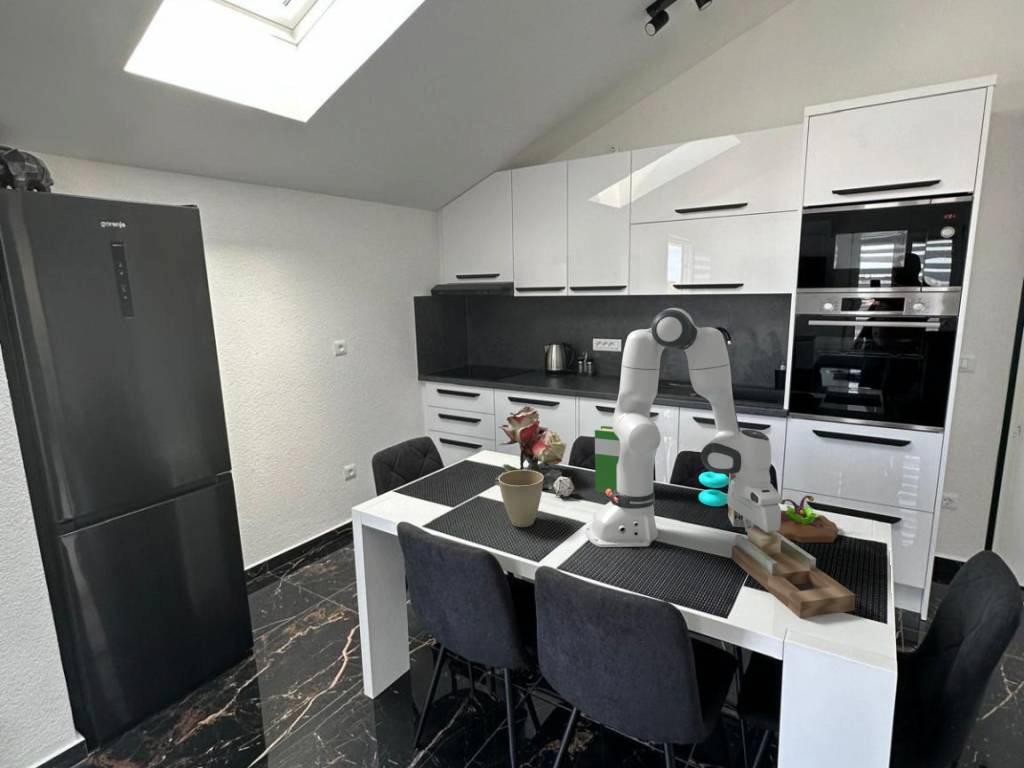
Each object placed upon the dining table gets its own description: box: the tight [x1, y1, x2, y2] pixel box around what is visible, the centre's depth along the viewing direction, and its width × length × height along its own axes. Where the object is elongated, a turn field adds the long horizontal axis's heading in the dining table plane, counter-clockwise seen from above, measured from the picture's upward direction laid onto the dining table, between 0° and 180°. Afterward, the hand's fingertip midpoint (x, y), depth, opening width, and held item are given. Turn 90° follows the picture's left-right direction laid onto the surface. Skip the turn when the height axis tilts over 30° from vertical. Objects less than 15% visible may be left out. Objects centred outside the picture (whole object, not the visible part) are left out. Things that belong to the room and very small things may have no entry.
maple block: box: [746, 528, 781, 555], centre depth 147 cm, size 6×6×5 cm
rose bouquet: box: [494, 405, 567, 490], centre depth 220 cm, size 26×29×30 cm
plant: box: [777, 495, 839, 544], centre depth 167 cm, size 20×20×11 cm
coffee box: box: [727, 473, 745, 528], centre depth 173 cm, size 9×6×16 cm
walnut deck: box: [730, 544, 856, 619], centre depth 138 cm, size 14×28×4 cm, turn 9°
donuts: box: [698, 471, 729, 507], centre depth 190 cm, size 10×10×10 cm
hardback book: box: [594, 425, 620, 494], centre depth 202 cm, size 18×7×24 cm, turn 61°
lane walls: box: [734, 532, 817, 575], centre depth 143 cm, size 12×16×3 cm
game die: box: [550, 475, 577, 500], centre depth 201 cm, size 9×8×10 cm
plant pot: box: [498, 470, 544, 528], centre depth 179 cm, size 15×15×16 cm
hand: (750, 533), depth 154 cm, fingers closed
